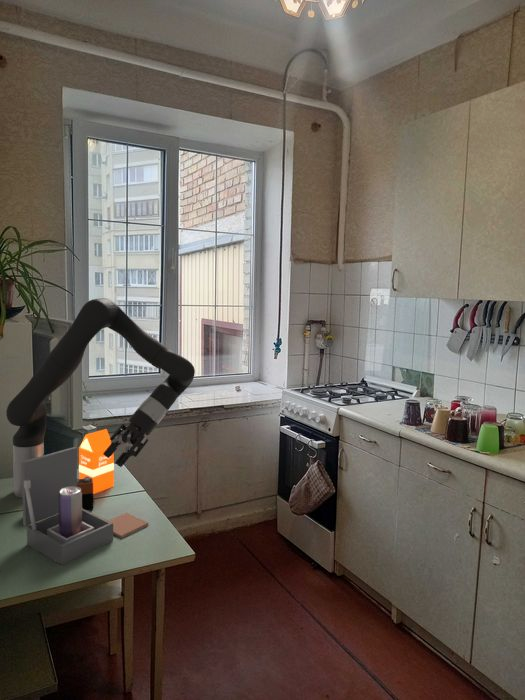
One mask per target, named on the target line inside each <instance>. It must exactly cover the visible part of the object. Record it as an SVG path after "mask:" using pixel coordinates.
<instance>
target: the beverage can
mask: <svg viewBox="0 0 525 700" xmlns="http://www.w3.org/2000/svg"><path fill="white" fill-rule="evenodd" d="M58 514H59V534H60V535H61V536H63V537H65V538H69V537H71V536H73V535H75V534H78V533H80V532H82V492H81V488H79V487H74V486H72V487H66V488H63V489H61V490H60V491H59V513H58Z"/></svg>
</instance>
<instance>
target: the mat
mask: <svg viewBox="0 0 525 700" xmlns="http://www.w3.org/2000/svg"><path fill="white" fill-rule="evenodd" d="M107 521H110V522H112V523H113V536H116V537H118V538H119V539H123V538H125V537H127V536H129V535H131V534H133V533H135V532H138V531H139V530H141V529H143V528H146V527H147V526H149V522H147V521H145V520H144V519H141V518H140V517H137V516H135V515H133V514H130V513H129V512H124V513H122V514H119V515H118V516H115V517H114V518H110V519H109V520H107Z"/></svg>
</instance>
